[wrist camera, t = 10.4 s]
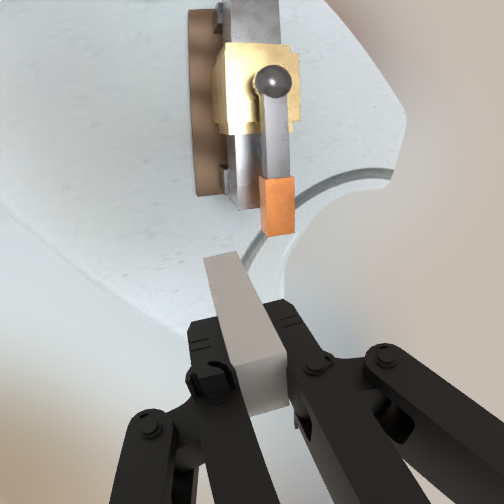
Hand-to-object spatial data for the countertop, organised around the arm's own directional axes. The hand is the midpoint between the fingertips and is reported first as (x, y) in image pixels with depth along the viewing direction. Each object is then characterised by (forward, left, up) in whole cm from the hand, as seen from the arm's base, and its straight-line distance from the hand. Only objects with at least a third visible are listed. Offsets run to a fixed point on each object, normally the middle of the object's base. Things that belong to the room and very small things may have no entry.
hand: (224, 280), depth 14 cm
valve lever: (-4, +7, -14) cm, 16 cm away
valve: (-10, +7, -26) cm, 29 cm away
